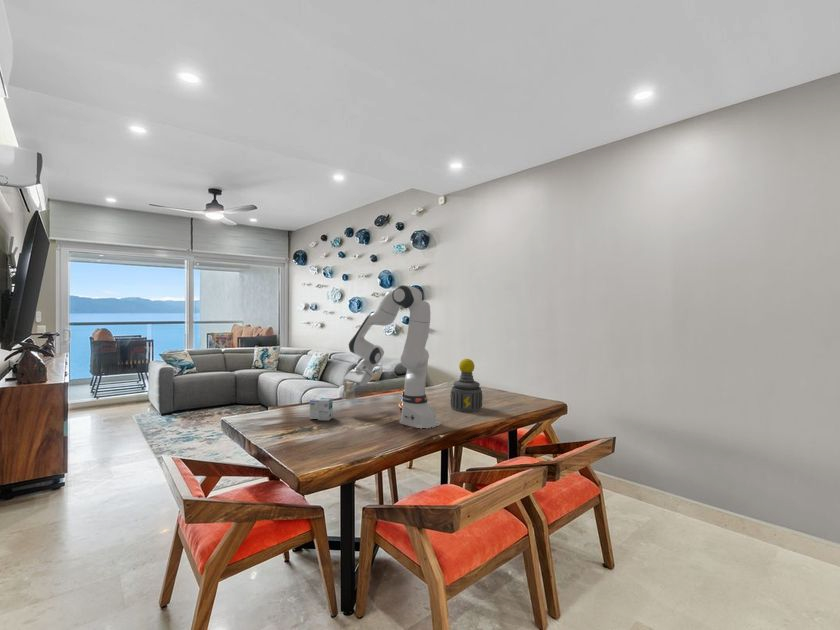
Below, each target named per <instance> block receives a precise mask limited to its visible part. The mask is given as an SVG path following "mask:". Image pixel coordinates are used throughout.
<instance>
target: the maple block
mask: <svg viewBox="0 0 840 630" xmlns="http://www.w3.org/2000/svg"><path fill="white" fill-rule="evenodd" d="M353 385H354V382H346V381H344V382H343V399H345V400H354V399H355V393H356V392H355V389H356V388H355V389H354V390H353V391H351V390H350V387H351V386H353Z"/></svg>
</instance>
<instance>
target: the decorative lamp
mask: <svg viewBox="0 0 840 630" xmlns="http://www.w3.org/2000/svg"><path fill="white" fill-rule="evenodd" d="M458 368H459V371H461V373H460V376H459V379H458V380H455V381H454V382H453V386H452V387H451V389H450V399H449V400H450V401H449V402H450V403H449V404H450V408H451V409H452V410H454V411H456V412H461V413H475V412H474V411H476V412H479V411H480V410H481V409H482V407H483V399H484V398H483V390H482V388H481V387H480V384H481V383H480V382H478V381H476V380H475V378H474V375H473V372H474V369H475V363H474V361H473V360H471V358H464V359H462V360H461V361H460V362H459V365H458Z"/></svg>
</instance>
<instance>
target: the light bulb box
mask: <svg viewBox="0 0 840 630" xmlns="http://www.w3.org/2000/svg"><path fill="white" fill-rule="evenodd" d="M333 398H334V397H313V398H311V399H309V420H310V419H318V420H317V421H330V420H331V419H333V406H334V404H333V400H334V399H333Z"/></svg>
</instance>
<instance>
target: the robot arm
mask: <svg viewBox="0 0 840 630" xmlns="http://www.w3.org/2000/svg"><path fill="white" fill-rule="evenodd" d="M401 308H404V309H408V310H409V318H408V325H407V326H408V327H407V334H406V339H405V343H404V346H403V350H402V353H401V356H400V364H401V365H402V367H403V368H405V369H406V373H405V376H404V388H403V389H404V393H403V405H402V407H401V415H400V420H399V422H398V423H399V424H401V425H405V426H409V427H412V428H416V429H419V428H420V429H422V428H426V429H431V427H432V428H436V426H437V427H439V426H441V422H440V421H438V420H437V415H436V412H435V410H434V409H433V408H432V407H431V405H430V404H429V403H428V400H429V397H428V396H427V395H426V381H427V380H426V379H427V378H426V377H427V373H428V372H427V371H428V364H429V363H428V362H429V358H430V354H429V351H428V350H427V349H426V345H427V342H428V340H429V339H428V338H429V335H430V334H429V333H430V325H431V324H430V323H431V305H430V303H429V302H428V301H426V300H425V293H424V292H423V290H422V289H420V288H418V287H414V286H411V285H404V284H403V285H398V286H396V287H395V288H394V289H393V290H389V291H387V292H386V293H385V295H383V298H382V299H381V301H380V302H379V305H378V307H377V309H376V310H375V311H374V312H370V313H368V315H367V317H366V318H365V319H364V320H363V322H362V324H361V325H360V327H359V328H358V330H357V331H356V333H355V334H354V335H353V336H352V338H351V340H350V341H349V342H348V348H349V351H350V352H351V353H352V354H354V355H357V356H359V357H360V358H362V359H361V360H360V361H359V362H358V363H357V365H356V366H355V368H353V369H351V370H349V371H348V372H347V374H346V375H345V376H344V377H343V380H344V382H354V385H353V386H351V387H350V390H351V391H353V390H354V389H356V388H358V387H359V386H360V387H365V386H366V385H367V384H368V383H369V382H370V381H371V380H372V378H373V377H374V376H375V373H374V372H373V371H374V369H375V367H377V365H378V364H379V363H380V361H381V360H382V358H383V357H384V354H385V351H384V349H383V347H381V346H380V345H378V344H373V343H371V342H370V341H368V340H366V339H365V336H366V334H367V333H368V331H369V330H370V329H371V327H372V326H375V325H376V326H383V327H385V326H389V325H392V323H394V321H395V320H396V317H397V316H398V313H399V311H400V309H401Z"/></svg>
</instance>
